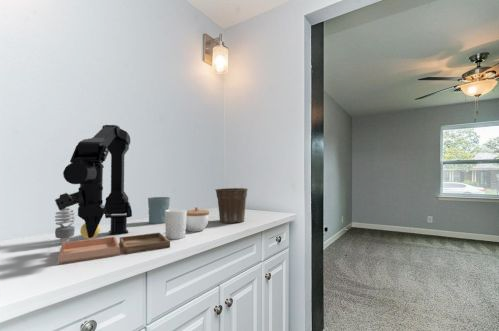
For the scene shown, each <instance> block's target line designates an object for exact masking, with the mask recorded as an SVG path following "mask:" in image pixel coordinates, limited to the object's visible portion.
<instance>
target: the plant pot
mask: <svg viewBox="0 0 499 331" xmlns="http://www.w3.org/2000/svg"><path fill="white" fill-rule="evenodd" d="M248 189H249V188H246V187H245V188H243V187H238V188H237V187H234V188H233V187H232V188H231V187H230V188H229V187H228V188H215V189H214V190H215V193H216V198H217V203H218V204H217V205H218V213H219V214H218V216H219V222H220V223H223V224H235V223H238V224H240V223H243V222H245V216H246V215H245V213H246V200H247V196H248V195H247V194H248Z"/></svg>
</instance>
